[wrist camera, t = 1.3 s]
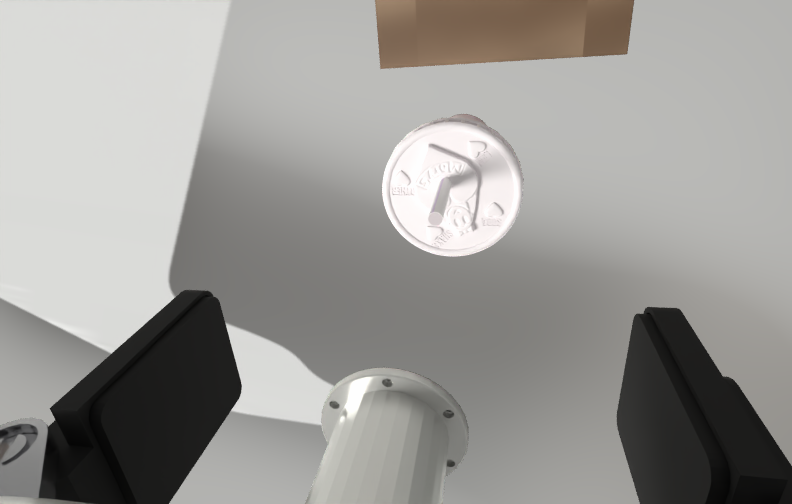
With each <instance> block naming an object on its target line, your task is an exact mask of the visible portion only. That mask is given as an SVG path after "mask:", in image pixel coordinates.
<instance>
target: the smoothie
mask: <svg viewBox="0 0 792 504" xmlns="http://www.w3.org/2000/svg"><path fill="white" fill-rule="evenodd" d="M523 180H524V179H523V175H522V170H521V166H520V161H519V160H518V158H517V156H516V154H515V152H514V151H513V149H512V147H511V145H510V144H509V143H508V142H507V141H506V140H505V139H504V138H503V137H502V136H501V135H500V134H499V133H498V132H497V131H495V130H493V129H491V128H490V127H488V126H487V125H486V124H485V123H484V122H483V121H482V120H480V119H479V118H477V117H475V116H472V115H468V114H459V115H455V116H452V117H450V118H441V119H437V120H434V121H431V122H428V123H424V124H422V125H421V126H419V127H418V128H416V129H414V130H413V131H411V132H410V133H408V134H407V135H406V136H405V137H404V138H403V140H402V141H401V142H400V143H399V144H398V145H397V146H396V148H395V149H394V151H393V153H392V155H391V158H390V159H389V161H388V163H387V166H386V169H385V172H384V176H383V184H382V192H383V193H382V194H383V201H384V205H385V209H386V212H387V214H388V216H389V218H390V220H391V222H392V224H393V225H394V226H395V228H396V229H397V230H398V231H399V233H400V234H401V235H402V236H403V237H404V238H406V239H407V240H408V241H409V242H411V243H412V244H413V245H415V246H417V247H418V248H420V249H423V250H425V251H427V252H430V253H433V254H437V255H442V256H464V255H470V254H473V253H477V252H479V251H482V250H484V249H486V248H488V247H490V246H491V245H493V244H494V243H496V242H497V241H498V240H500V239H501V238H502V237H503V236H504V235H505V234H506V233H507V232H508V230H509V229H510V228H511V226H512V225H513V223H514V222H515V220H516V218H517V215H518V213H519V211H520V207H521V203H522V197H523Z"/></svg>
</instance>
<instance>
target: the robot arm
mask: <svg viewBox="0 0 792 504" xmlns="http://www.w3.org/2000/svg"><path fill="white" fill-rule="evenodd" d="M241 388H242V385H241V380H240V377H239V373H238V369H237V365H236V362H235V358H234V354H233V351H232V347H231V343H230V339H229V336H228V332H227V328H226V324H225V321H224V317H223V313H222V310H221V306H220V302H219V300H218V299H217V298H216V297H213V295H212V293H211V292H209V291H198V290H185V291H183V292H181V293H180V294H179V295H178V296H176V297H175V298H174V299H173V300H172V301H171V302H170V303H169V304H167V305H166V306H165V307H164V308H163V309H162V310H161V311H159V312H158V313H157V314H156V315H155V316H154V317H153V318H152V319H150V320H149V321H148V322H147V323H146V324H145V325H144V326H143V327H141V328H140V329H139V330H138V331H137V332H136V333H135V334H133V335H132V336H131V337H130V338H129V339H128V340H127V341H126V342H124V343H123V344H122V345H121V346H120V347H119V348H118V349H116V350H115V351H114V352H113V353H112V354H111V355H110V356H109V357H107V359H105V360H104V361H103V362H102V363H101V364H100V365H98V366H97V367H96V368H95V369H94V370H93V371H92V372H90V373H89V374H88V375H87V376H86V377H85V378H84V379H83V380H81V381H80V382H79V383H78V384H77V385H76V386H75V387H74V388H72V389H71V390H70V391H69V392H68V393H67V394H66V395H64V396H63V397H62V398H61V399H60V400H59V401H58V402H56V403H55V404H54V405H53V406H52V407H51V408H50V410H51V412H52V414H53V416H54V418H55V421H54V422H53V423H52V424H51V425H50V426H49V427H48V425H47V424H46V423H45V422H44V421H43V420H41V419H36V418H25V419H19V420H15V421H11V422H8V423H6V424H3V425H1V426H0V504H169V502H170V501H171V499H172V498H173V496H174V495H175V493H176V492H177V490H178V489H179V487H180V486H181V484H182V483H183V481H184V480H185V478H186V477H187V475H188V474H189V472H190V471H191V469H192V468H193V466H194V465H195V464H196V462H197V460H198V459H199V457H200V456H201V455H202V453H203V452H204V450H205V448H206V447H207V445H208V444H209V442H210V441H211V440H212V438H213V436H214V435H215V433H216V432H217V430H218V429H219V427H220V426H221V425H222V423H223V421H224V420H225V418H226V417H227V415H228V414H229V412H230V411H231V410H232V408H233V407H234V405H235V404H236V402H237V401H238V399H239V397H240V394H241ZM321 424H322V429H323V433H324V436H325V438H326V441H327V443H328V446H327V449H326V451H325V454H324V456H323V459H322V462H321V464H320V467H319V469H318V472H317V475H316V477H315V479H314V482H313V485H312V487H311V490H310V492H309V495H308V497H307V500H306V503H305V504H442V502H443V492H444V483H445V477H446V476H448V475H449V474H450V473H452V472H453V471H454V470H455V469H457V467H458V466H459V465H460V463H461V462H462V461H463V459H464V456H465V454H466V452H467V445H468V425H467V421H466V417H465V415H464V413H463V411H462V409H461V407H460V405H459V404H458V403H457V402H456V400H455V399H454V398H453V397H452V396H451V395H450V394H449V393H448V392H447V391H446V390H445V389H443V388H442V387H441V386H439V385H438V384H436V383H435V382H433V381H431V380H430V379H428V378H426V377H423V376H421V375H419V374H416V373H413V372H410V371H406V370H402V369H394V368H371V369H366V370H362V371H358V372H355V373H353V374H351V375H349V376H346V377H345V378H344V379H343V380H341V381H339V382H338V383H337V384H336V385H335V386H334V388H333V389H332V390H331V391H330V393H329V395H328V397H327V399H326V401H325V404H324V407H323V410H322V416H321ZM617 426H618V431H619V435H620V438H621V442H622V444H623V448H624V452H625V455H626V458H627V461H628V465H629V468H630V472H631V475H632V478H633V482H634V485H635V488H636V492H637V495H638V498H639V502H640V504H792V466H791V464H790V463H789V461H788V460H787V458H786V457H785V455H784V454H783V452H782V451H781V450H780V448H779V446H778V445H777V444H776V442H775V440H774V439H773V437H772V436H771V434H770V433H769V431H768V430H767V428H766V427H765V425H764V424H763V422H762V421H761V419H760V418H759V416H758V414H757V413H756V412H755V410H754V408H753V407H752V405H751V404H750V402H749V401H748V399H747V398H746V396H745V395H744V393H743V392H742V390H741V389H740V387H739V386H738V385H737V383H736V382H735V381H734V380H733V379H731V378H729V377H723V376H722V375H721V373H720V372H719V370H718V368H717V367H716V365H715V364H714V362H713V360H712V359H711V357H710V356H709V354H708V353H707V351H706V349H705V348H704V346H703V345H702V343H701V342H700V340H699V339H698V337H697V335H696V334H695V332H694V330H693V329H692V327H691V326H690V324H689V323H688V321H687V320H686V318H685V316H684V315H683V313H682V312H681V310H680V309H677V308H657V307H647V308H646V309H645V311H644V314H636V315H635V317H634V320H633V325H632V331H631V336H630V342H629V348H628V354H627V359H626V365H625V371H624V376H623V382H622V388H621V393H620V399H619V405H618V411H617Z"/></svg>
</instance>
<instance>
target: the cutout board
mask: <svg viewBox="0 0 792 504" xmlns="http://www.w3.org/2000/svg"><path fill="white" fill-rule="evenodd" d="M375 2H376V16H377V29H378V42H379V55H380V68H381V69H384V68H401V67H418V66H435V65H452V64H469V63H486V62H503V61H520V60H537V59H554V58H571V57H588V56H604V55H621V54H627V51H628V44H629V36H630V27H631V20H632V12H633V5H634V0H375Z"/></svg>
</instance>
